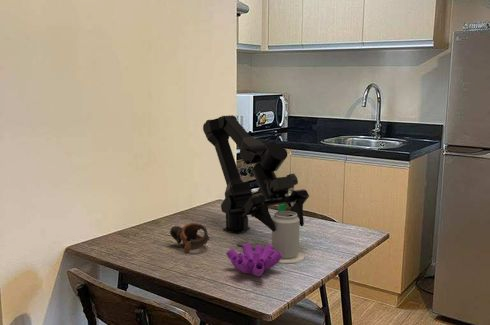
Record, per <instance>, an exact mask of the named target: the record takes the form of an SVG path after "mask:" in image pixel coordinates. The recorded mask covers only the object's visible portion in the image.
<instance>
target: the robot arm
mask: <svg viewBox="0 0 490 325" xmlns="http://www.w3.org/2000/svg"><path fill="white" fill-rule="evenodd" d="M202 130H203V133H204V135H205V138H206V141H208V142H209V143H210V144H212V146H214V149H215V153H216V155H217V158H218V161H219V164H220V167H221V170H222V174H223V177H224V181H225V183H226V187H225V191H224V200H223V201H222V202H221V204H220V209H221V212H223V213H224V214H225V227H223V228H222V231H225V232H230V233H235V234H242V233H243V232H246V231H247V230H249V229H251V227H250V226H249V216H250V217H251V218H255V219H257V220H258V221H260V222H261V223H262V224H264V225H265V226H266V227H267V228H269V229H270V230H271V232H272V231H273V232H274V231H276V228H275V225H274V222H273V220H272V218H273V217H272V215H271V214H270V211H269V207H273V206H278V205H279V204H285V203H288V205H289V207H291V209H290V211H292V212H295V213H297V217H298V218H299V219H300V226H299V227H303V226H304V225H305V222H304V221H305V219H304V210H303V209H304V204H305V203H306V201H307V200H308V199H309V197H310V195H309V192H308V191H307V190H306V189H295V186H296V185H298V184H299V180H298V177H297V176H296V173H289V174H287V175H286V176H281V177H278V176H277V175H276V172H277V171H278V170H279V169H280V167H281V166H282V165H283V163H284V162H285V160H286V159H287V158H288V152H287V151H288V150H287V149H286V148H284V147H283V146H282V145H280V144H278V143H277V142H276V141H275V140H272V141H268V142H267V145H266V144H265V143H263V142H262V141H261V140H258V139H255V138H254V137H252V136H251V135H250V134H249V133H248V131H247V130H246V129H245V128H244V127H243V126H242V125H241V123H240V122H239V121H238V119H237V116H235V115H233V114H232V115H231V114H230V115H221V116H219V117H217V118H213V119H207V120H206V121H205V122H204V123H203V126H202ZM229 139H231V140H232V141H233V142H234V143H235V144H236V146H237V148H238V150H239V156H240V158H241V159H242V161H243V163H244V164H245V165H254V166H253V167H251V171H250V173H249V176H250V178H253V177H254V178H255V181H256V183H257V185H258V187H259V188H258V189H257V191H258V194H260V195H254V194H253V191H252V189H251V184H250V183H249V181H245V182H244V181H243V180H242V178H241V174H240V172H239V168H238V166H237V164H236V159H235V156H234V154H233V151H232V148H231V144H230V142H229ZM290 188H294V191H293V192H292V194H291V195H290V196H285V194H287V193H288V192H289V191H288V189H290Z"/></svg>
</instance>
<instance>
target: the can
mask: <svg viewBox="0 0 490 325" xmlns="http://www.w3.org/2000/svg"><path fill="white" fill-rule="evenodd" d="M271 218H272V220H273V222H274V225H275V228H276V231H274V232H273V231H272V230H271V245H272V246H274V251H278V252H280V253H281V254H282V258H281V259H291V258H294V257H296V255H298V254H299V252H300V227H301V226H300V219H299V218H298V217H297V213H295V212H292V211H279V212H278V211H276V212H274V215H273V217H271Z"/></svg>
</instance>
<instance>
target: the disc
mask: <svg viewBox="0 0 490 325" xmlns="http://www.w3.org/2000/svg"><path fill="white" fill-rule="evenodd" d="M304 259H305V255H304V253H303V252H301V251H299V254H298V255H296V257H294V258H291V259H280V261H279V262H278V263H277V264H285V265H286V264H287V265H288V264H297V263H300V262H302V261H304Z"/></svg>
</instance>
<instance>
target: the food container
mask: <svg viewBox="0 0 490 325" xmlns="http://www.w3.org/2000/svg"><path fill="white" fill-rule="evenodd" d="M288 191H289V192H288V193H287V194H285V196H290V195H291V194H292V192H293V191H295V187H294V188H290V189H288ZM290 209H291V207H289V205H288V203H285V204H279V205H277V212H279V211H290Z"/></svg>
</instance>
